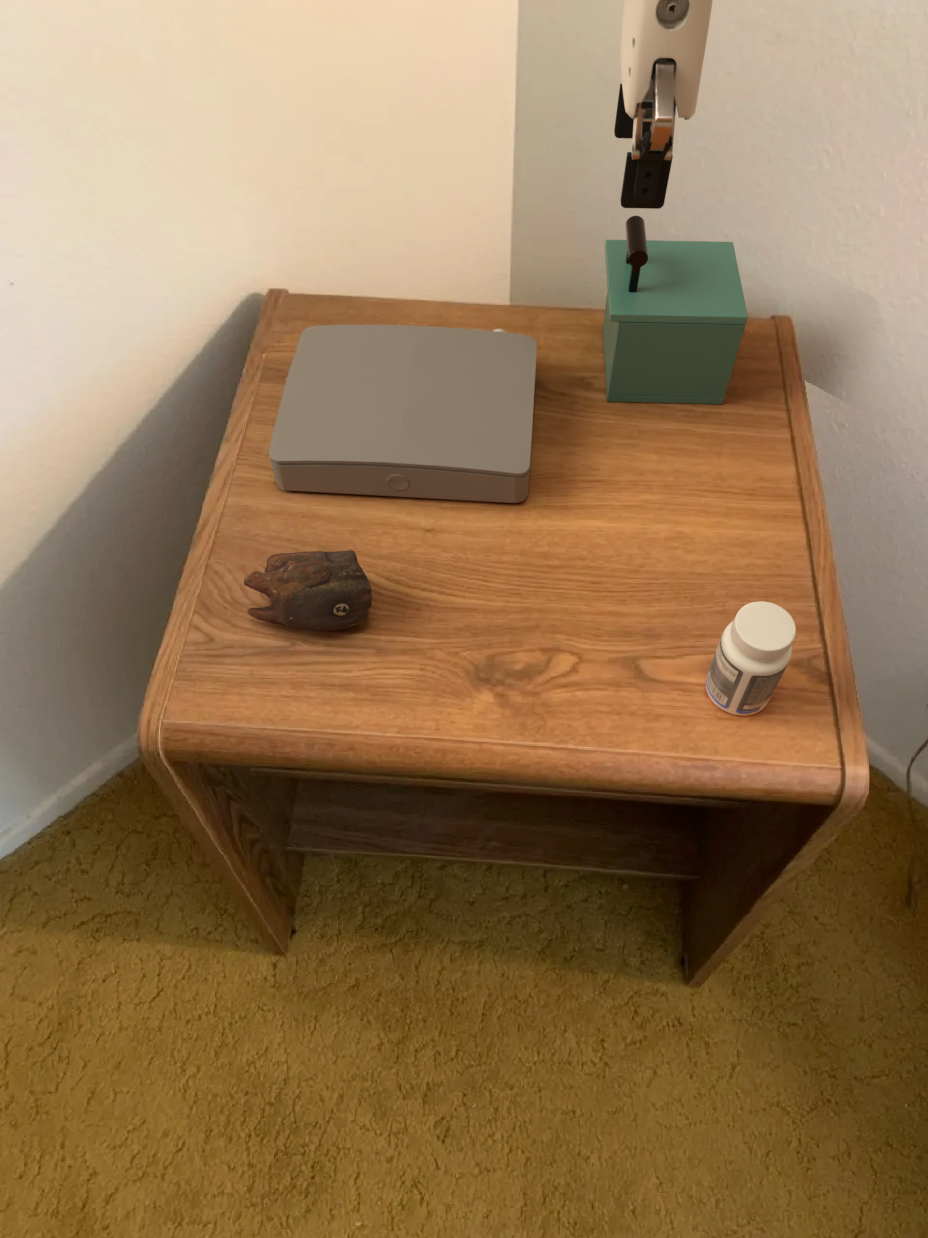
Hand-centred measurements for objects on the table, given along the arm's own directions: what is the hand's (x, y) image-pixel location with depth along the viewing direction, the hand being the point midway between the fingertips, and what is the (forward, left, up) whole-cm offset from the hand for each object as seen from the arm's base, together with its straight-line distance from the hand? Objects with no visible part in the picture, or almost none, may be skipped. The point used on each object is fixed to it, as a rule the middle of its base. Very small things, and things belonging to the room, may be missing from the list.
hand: (637, 169), depth 72 cm
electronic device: (+18, +8, -20) cm, 28 cm away
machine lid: (-5, 0, -10) cm, 11 cm away
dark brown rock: (+24, +29, -19) cm, 43 cm away
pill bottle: (-8, +35, -20) cm, 41 cm away
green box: (-5, 0, -19) cm, 20 cm away
